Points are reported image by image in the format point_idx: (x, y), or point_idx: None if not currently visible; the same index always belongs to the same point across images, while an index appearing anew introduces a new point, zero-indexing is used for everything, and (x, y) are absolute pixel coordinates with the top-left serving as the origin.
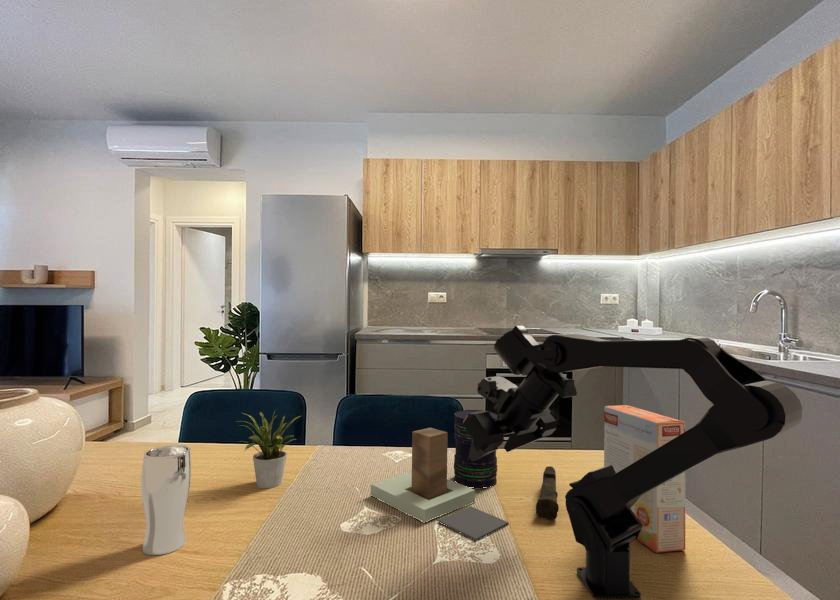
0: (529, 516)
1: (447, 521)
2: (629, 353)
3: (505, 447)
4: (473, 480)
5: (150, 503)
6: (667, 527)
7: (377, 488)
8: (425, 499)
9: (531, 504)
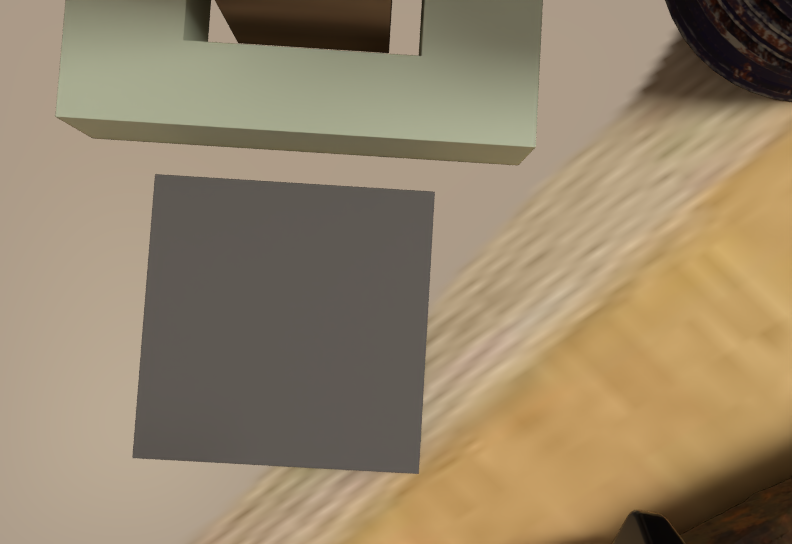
0: (593, 500)
1: (181, 223)
2: None
3: (633, 540)
4: (705, 11)
5: None
6: None
7: None
8: (175, 18)
9: (746, 423)
